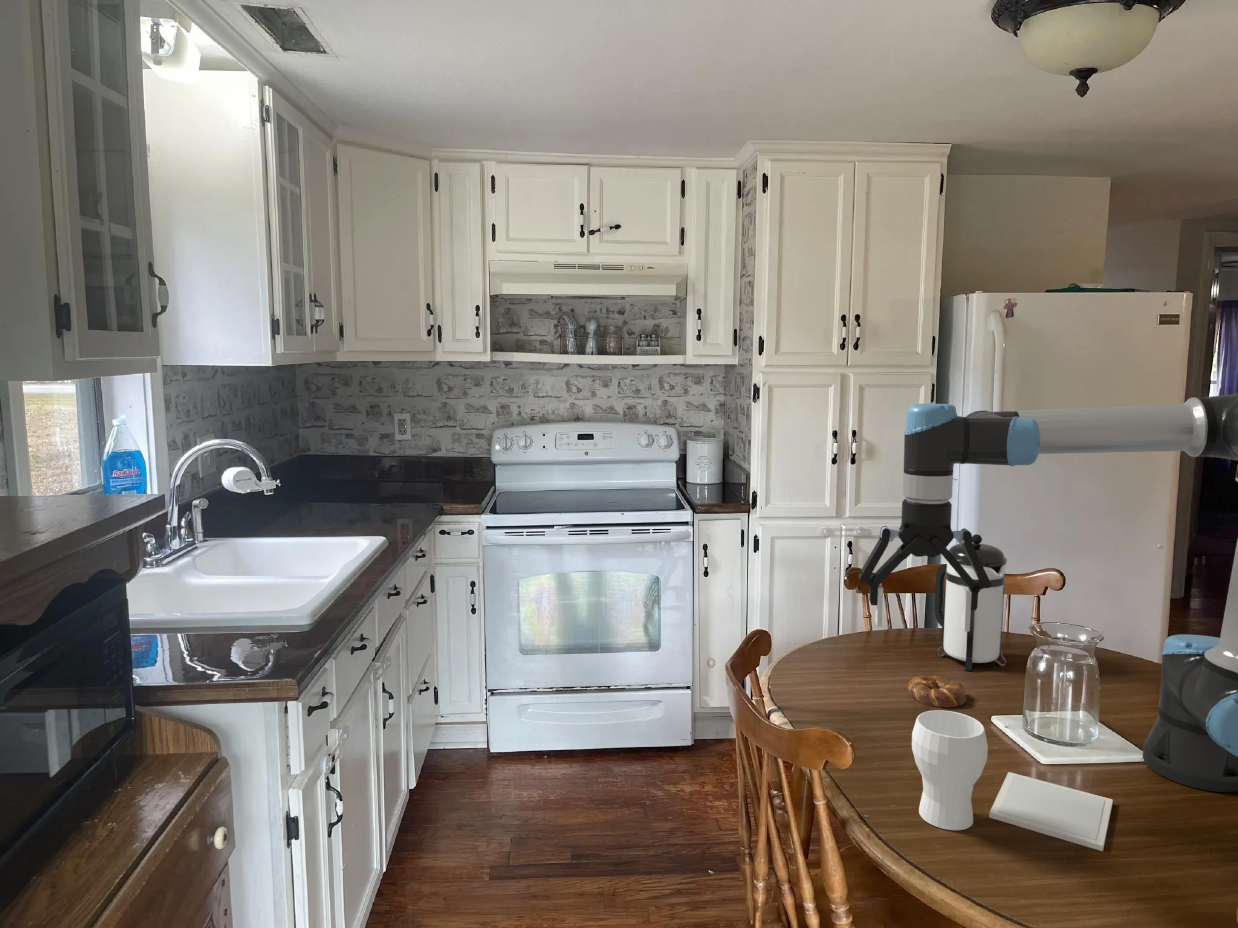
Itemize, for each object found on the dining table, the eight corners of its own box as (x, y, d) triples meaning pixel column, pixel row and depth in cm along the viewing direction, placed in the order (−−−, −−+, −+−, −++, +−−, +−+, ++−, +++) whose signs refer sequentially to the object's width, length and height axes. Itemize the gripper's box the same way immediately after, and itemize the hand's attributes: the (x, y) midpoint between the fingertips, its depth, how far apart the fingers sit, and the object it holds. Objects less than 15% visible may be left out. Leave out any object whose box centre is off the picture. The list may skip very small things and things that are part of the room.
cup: (922, 790, 131) (926, 702, 129) (992, 813, 124) (997, 720, 122) (898, 819, 123) (902, 725, 121) (971, 845, 116) (976, 746, 114)
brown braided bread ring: (894, 696, 169) (895, 679, 168) (924, 683, 175) (924, 666, 175) (948, 715, 159) (948, 697, 159) (977, 700, 166) (977, 683, 165)
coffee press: (1010, 655, 190) (1017, 531, 187) (1001, 677, 177) (1008, 544, 173) (933, 642, 199) (938, 523, 196) (919, 662, 186) (924, 535, 182)
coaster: (1112, 804, 126) (1112, 798, 126) (1102, 851, 114) (1103, 845, 114) (1008, 776, 135) (1008, 771, 135) (989, 817, 123) (989, 811, 123)
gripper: (1003, 497, 131) (996, 623, 134) (845, 493, 136) (841, 615, 139) (1016, 505, 124) (1008, 638, 127) (849, 501, 129) (845, 629, 131)
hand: (921, 626), depth 133 cm, fingers open, 13 cm apart
